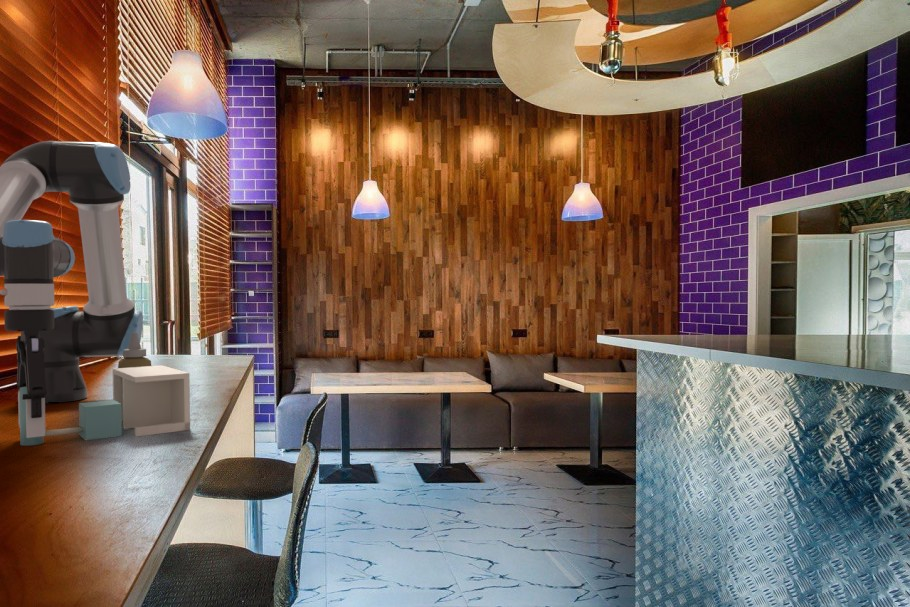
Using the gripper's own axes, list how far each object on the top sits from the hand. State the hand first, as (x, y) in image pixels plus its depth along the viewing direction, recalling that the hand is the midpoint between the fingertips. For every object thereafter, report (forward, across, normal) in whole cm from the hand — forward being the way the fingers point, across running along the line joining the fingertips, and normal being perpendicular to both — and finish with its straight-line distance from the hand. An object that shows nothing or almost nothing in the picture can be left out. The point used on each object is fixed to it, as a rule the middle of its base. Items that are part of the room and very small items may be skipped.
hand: (31, 431), depth 123 cm
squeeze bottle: (+2, -20, +22) cm, 30 cm away
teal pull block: (+2, 0, +6) cm, 7 cm away
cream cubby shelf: (+2, -4, +21) cm, 21 cm away
